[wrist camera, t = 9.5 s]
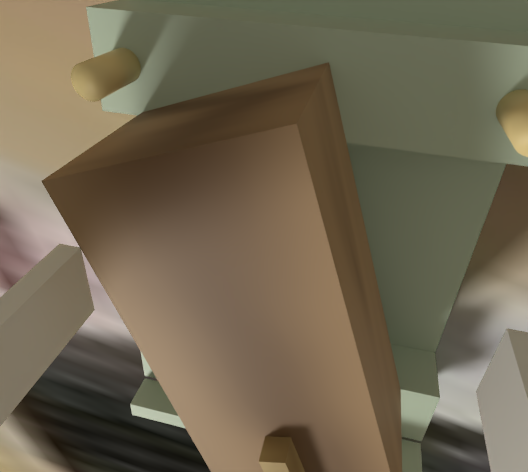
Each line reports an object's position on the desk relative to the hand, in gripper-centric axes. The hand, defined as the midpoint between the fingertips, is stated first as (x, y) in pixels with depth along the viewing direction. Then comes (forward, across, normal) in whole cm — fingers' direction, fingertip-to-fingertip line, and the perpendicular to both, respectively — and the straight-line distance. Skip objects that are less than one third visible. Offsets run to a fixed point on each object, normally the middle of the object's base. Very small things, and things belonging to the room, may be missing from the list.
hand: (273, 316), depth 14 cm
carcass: (+6, 0, 0) cm, 6 cm away
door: (+2, 0, 0) cm, 3 cm away
